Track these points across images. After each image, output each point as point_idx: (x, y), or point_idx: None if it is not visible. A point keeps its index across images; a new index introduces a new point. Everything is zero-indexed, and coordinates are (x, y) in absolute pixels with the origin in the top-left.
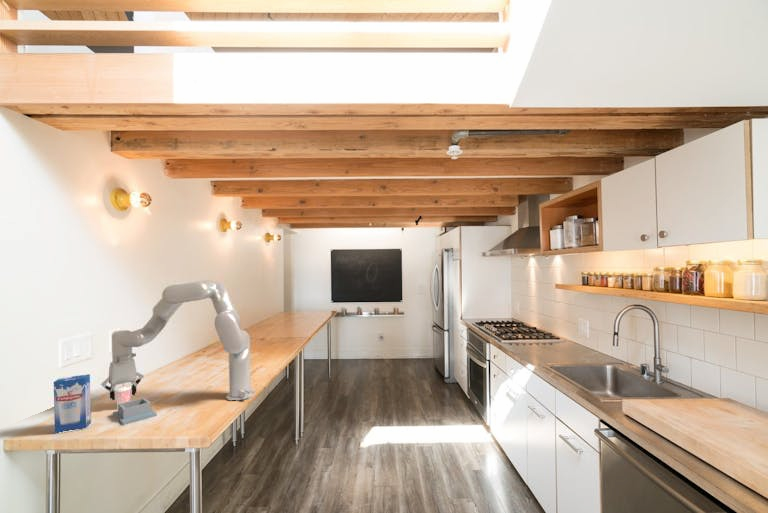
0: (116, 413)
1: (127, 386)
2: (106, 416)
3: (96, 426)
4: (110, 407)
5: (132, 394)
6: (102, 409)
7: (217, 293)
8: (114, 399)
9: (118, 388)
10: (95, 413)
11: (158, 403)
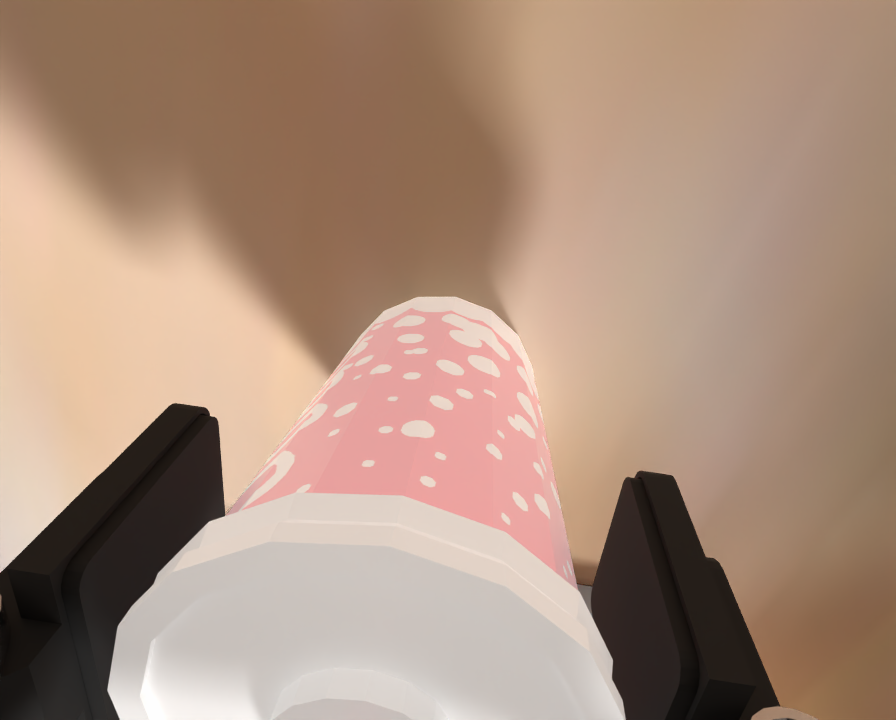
0: None
1: (538, 689)
2: None
3: None
4: (281, 129)
5: (606, 552)
6: (145, 113)
7: None
8: None
9: (229, 640)
10: (39, 253)
11: (818, 654)
